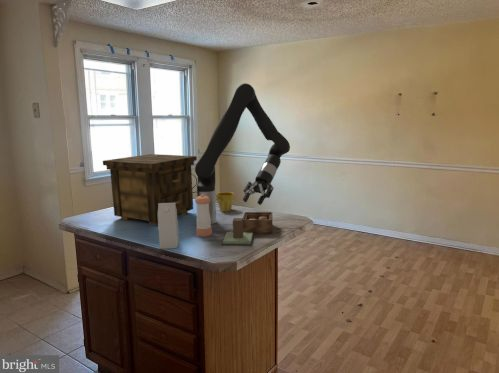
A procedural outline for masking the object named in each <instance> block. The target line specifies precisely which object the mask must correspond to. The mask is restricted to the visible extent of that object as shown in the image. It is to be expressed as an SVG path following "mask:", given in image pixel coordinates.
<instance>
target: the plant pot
mask: <svg viewBox="0 0 499 373" xmlns="http://www.w3.org/2000/svg"><path fill="white" fill-rule="evenodd" d="M215 199H216V201H217V202H218V207H219V210H220V211H221V212H229V211H232V208H233V201H234V200H235V193H234V192H229V191H223V192H218V193H215Z"/></svg>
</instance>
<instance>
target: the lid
mask: <svg viewBox="0 0 499 373" xmlns="http://www.w3.org/2000/svg"><path fill="white" fill-rule="evenodd" d="M253 235H254V234H253V233H251V232H243V217H234V218H233V219H232V232H231V231H229V232H227V231H226V233H225V236H224V239H223V240H222V242H223V244H251V240H252V236H253ZM253 237H254V236H253Z"/></svg>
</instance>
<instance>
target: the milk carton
mask: <svg viewBox="0 0 499 373" xmlns="http://www.w3.org/2000/svg"><path fill="white" fill-rule="evenodd" d="M157 226H158V241H159V249H160V250H164V249H165V250H166V249H168V250H169V249H178V246H179V227H178V226H179V225H178V215H177V209H176V205H175V203H158V225H157Z"/></svg>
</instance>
